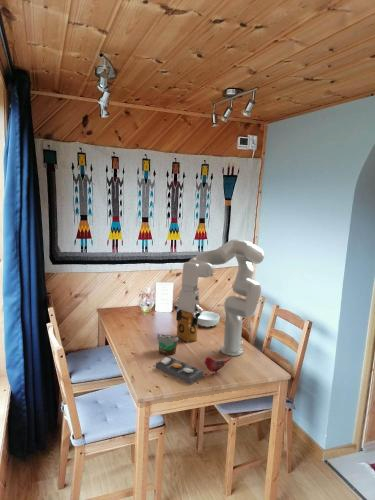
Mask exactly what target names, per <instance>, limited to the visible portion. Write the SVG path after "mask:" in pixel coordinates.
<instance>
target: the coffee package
mask: <svg viewBox="0 0 375 500" xmlns="http://www.w3.org/2000/svg"><path fill="white" fill-rule="evenodd" d="M181 312H182V318H181V320H178V321H177V320H176V322H177V323H176V324H177V325H176V337H178V338H180V339H181V340H183V341H185V342H186V343H192V342H196V341H198V329H199V328H198V325H199V324H198V323H197V325H195V326H192V319H193V315H192V313H189V312H186V311H183V310H182V311H181ZM195 315H196V314H195Z"/></svg>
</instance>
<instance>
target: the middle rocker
mask: <svg viewBox="0 0 375 500" xmlns="http://www.w3.org/2000/svg"><path fill="white" fill-rule="evenodd" d="M172 366H174V367H176V368H179V367H182V365H180V364H178V363H175V364H172Z"/></svg>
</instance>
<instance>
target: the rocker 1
mask: <svg viewBox="0 0 375 500" xmlns="http://www.w3.org/2000/svg"><path fill="white" fill-rule="evenodd" d="M167 357H168V356H166V357H164V358H162V359H161V360H162V361H161V360H160V361H161V363H162V364H164V365H166V364H168V363H169V362H170V361H171V359H170V358H167Z"/></svg>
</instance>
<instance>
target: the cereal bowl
mask: <svg viewBox="0 0 375 500" xmlns="http://www.w3.org/2000/svg"><path fill="white" fill-rule="evenodd" d="M220 318H221V317H220V315H219V314H218V313H216V312H215V311H214V312H213V311H207V310H203V312H202V313H201V315H200V316H199V317H198V322H197V323H198V325H199V326H200V327H203V326H206V327H205V328H211V327H210V326H212V327H215V326H216V325H218V324H219V322H220Z"/></svg>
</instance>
